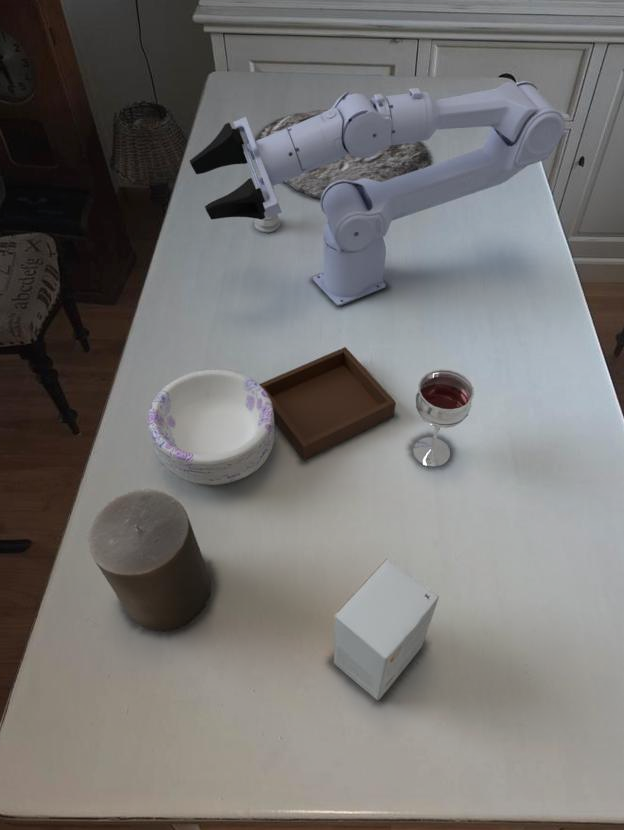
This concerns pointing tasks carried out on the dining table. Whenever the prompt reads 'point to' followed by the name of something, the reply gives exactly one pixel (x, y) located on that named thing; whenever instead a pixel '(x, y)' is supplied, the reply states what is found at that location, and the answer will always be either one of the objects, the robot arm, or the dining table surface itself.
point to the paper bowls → (212, 426)
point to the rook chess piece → (267, 222)
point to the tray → (327, 402)
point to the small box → (382, 627)
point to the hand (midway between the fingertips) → (200, 190)
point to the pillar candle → (151, 559)
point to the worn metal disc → (352, 161)
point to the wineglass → (441, 411)
